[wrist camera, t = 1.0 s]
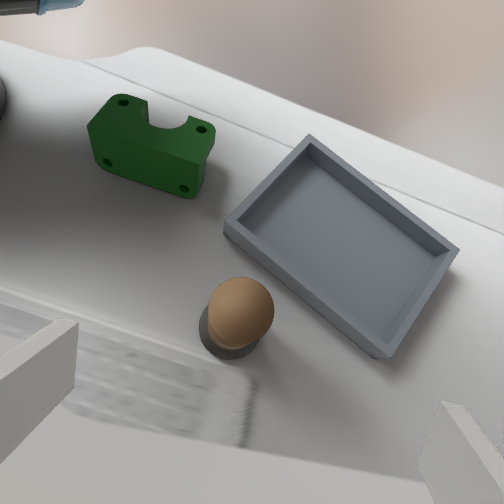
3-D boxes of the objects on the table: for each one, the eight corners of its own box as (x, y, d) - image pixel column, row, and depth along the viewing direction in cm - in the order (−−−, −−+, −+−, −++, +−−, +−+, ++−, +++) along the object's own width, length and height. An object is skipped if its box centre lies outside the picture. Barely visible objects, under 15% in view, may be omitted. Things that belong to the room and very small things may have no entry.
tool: (186, 331, 34) (176, 314, 23) (226, 285, 36) (236, 248, 25) (233, 373, 34) (247, 376, 22) (272, 324, 36) (303, 304, 24)
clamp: (196, 179, 44) (233, 136, 37) (178, 215, 41) (215, 175, 34) (105, 119, 40) (128, 58, 33) (77, 153, 37) (96, 93, 30)
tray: (223, 233, 38) (224, 220, 34) (300, 151, 42) (309, 133, 39) (373, 358, 36) (390, 358, 32) (439, 259, 40) (460, 249, 37)
